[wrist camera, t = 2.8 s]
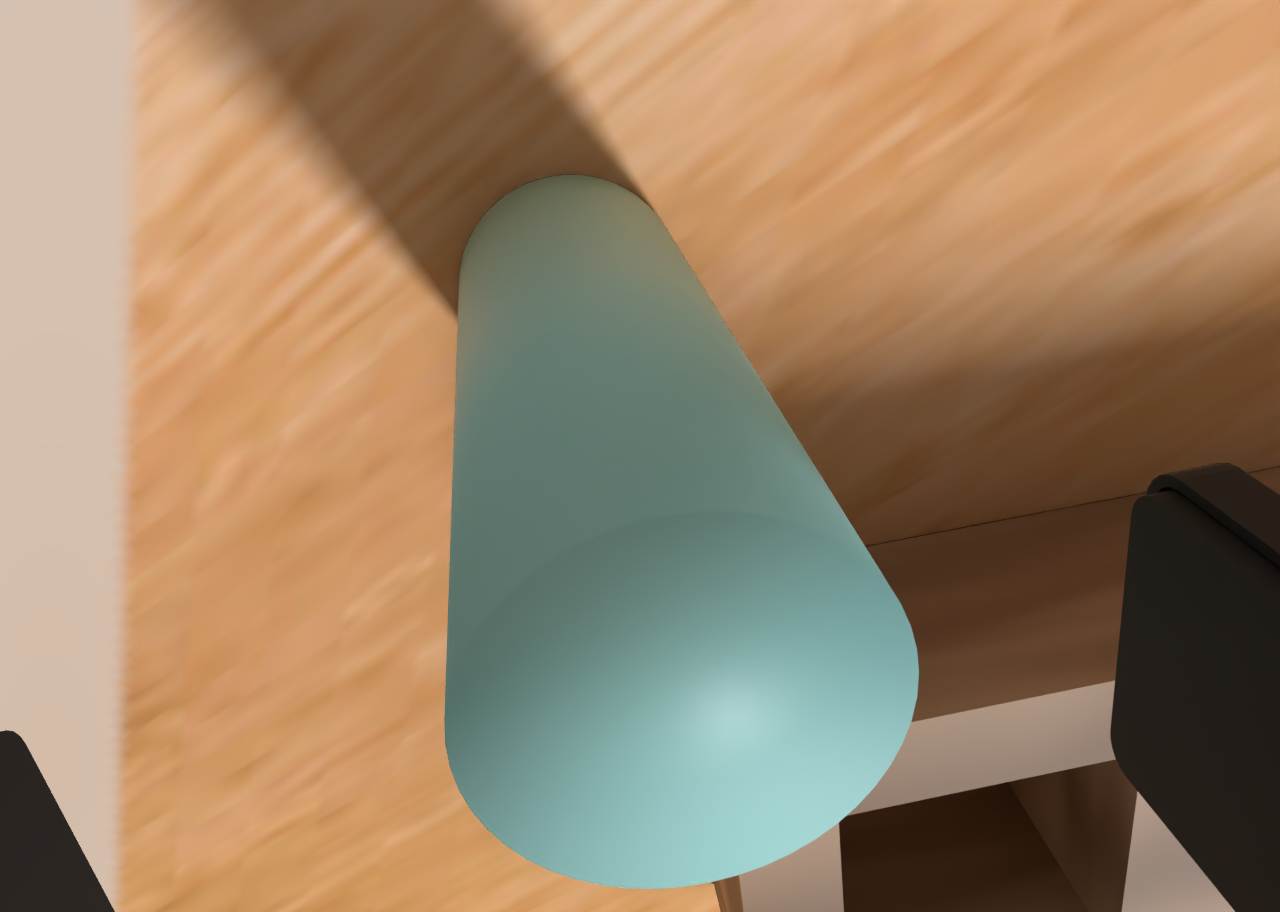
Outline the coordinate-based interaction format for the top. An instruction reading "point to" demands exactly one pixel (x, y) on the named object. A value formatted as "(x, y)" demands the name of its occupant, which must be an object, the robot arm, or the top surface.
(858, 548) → the dowel
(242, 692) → the top surface
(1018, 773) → the socket block
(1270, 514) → the robot arm
